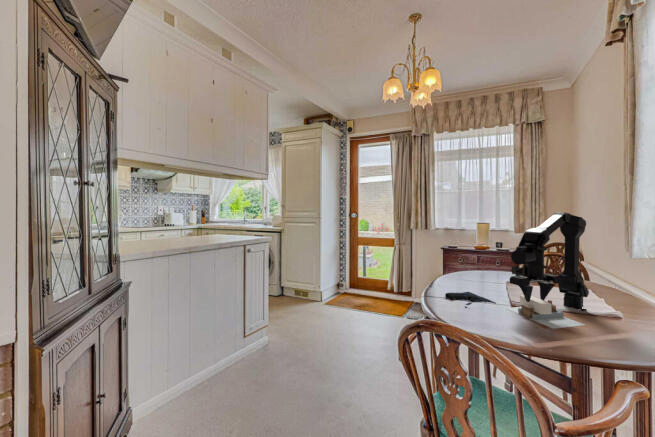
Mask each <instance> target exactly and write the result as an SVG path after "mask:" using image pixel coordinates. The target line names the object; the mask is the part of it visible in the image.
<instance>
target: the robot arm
mask: <svg viewBox="0 0 655 437" xmlns="http://www.w3.org/2000/svg"><path fill="white" fill-rule="evenodd" d="M586 226H587V221H586V219H584V218H583V217H582V216H578V215H574V214H571V213H570V212H563V211H562V212H559V211H558V212H556V211H555V212H553V214H552V215H551V216H550V217H549V218H548V219H546V220H545V221H544V222H543V223H541V224H540V225H539V226H537V227H532V228H529V229H527V230H526V231H525V232H524V233H523V235H522V237H521V239H520V241H519V243H518V245H517V246H516V247H515V250H513V251H512V252H511V254H510V259H511V261H512V262H513V264H515V265H513V266H511V267H510V268H511V270H510V272H511V276H510V277H509V284H513V285H515V286H518V287H519V289H520V290H521V292H522V295H524V297H525V299H526V301H527V302H529V301H530V298H531V296H532V294H533V289H534V286H532V285H531V283H537V284H538V286H539V299H541V300H543V301H546V300H545V299H546V298H547V297H548V296H549V293H550V292H551V291H552V289H554V287H556V285H557V286H558V290H559V293H562V294H563V306H565V307H567V308H572V309H574V310H575V309H576V310H578V309H582V307H583V308H584V298H588V297H589V295H590V291H589V289H588V287H587V285H585V280H584V277H583V276H582V274H581V272H580V271H579V270H580V268H579V267H580V238H581V237H582V235H583V234H584V233H585V231H586ZM558 229H559V231H560V232H561V234H562V235H563V237H564V253H563V254H564V258H563V262H564V263H563V270H562V272H561V273H560V274H558V275H556V274H553V273H545V269H547V268H548V266H547V265H545V251H547V250H548V248H547V247H546V246H545V245H547V244H548V243H549V241H550V236H551V235H552V234H553V233H554V232H556V231H557V230H558ZM519 266H522V267H519Z"/></svg>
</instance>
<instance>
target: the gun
mask: <svg viewBox="0 0 655 437" xmlns="http://www.w3.org/2000/svg"><path fill="white" fill-rule="evenodd" d="M445 298H447V299H449V300H451V301H452V300H466V301H469V303H468V302H467V303H465V304H464V305H465V306H464V308H466V309H470V307H469V306H470V305H472V304H473V303H482V302H483V303H489V304H490V303H492V304H497V302H495V301H494V300H493V301H492V300H491V299H488V298H486V297H483V296H479V295H477V294H476V293H473V292H470V291H464V292H446V293H445Z"/></svg>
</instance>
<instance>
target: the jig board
mask: <svg viewBox="0 0 655 437" xmlns="http://www.w3.org/2000/svg"><path fill="white" fill-rule="evenodd" d="M505 309H506V310H508V311H511V312H514V313H516V314H518V315H521V306H514V307H506V308H505ZM564 315H565V314H564V311H562V310H559V309H557V308H556V312H552V314H539V313H536V314H532V318H528V317H526V316H523V315H521V316H523V317H525V318H527V319H529V320H532V321H535V322H537V323H538V324H541V325H544V326H546V327H548V328H551V329H553V330H554V329H561V328H563V329H564V328H571V327H572V328H573V327H581V326H585V323H581V322H579V321H576V320H574V319H571V318H569V317H565V316H564Z"/></svg>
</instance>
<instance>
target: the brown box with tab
mask: <svg viewBox="0 0 655 437" xmlns="http://www.w3.org/2000/svg"><path fill="white" fill-rule="evenodd" d="M547 302H549V303H551V312H556V309H557V305H555V304H553V300H550V299H549V300H547ZM520 307H521V316H522V315H523V317H525V316H526V317H525V318H527V317H528V318H527V319H529V318H532V314H536V313H537V312H535V311H533V308H532V307H530V306H527V305H520Z"/></svg>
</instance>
